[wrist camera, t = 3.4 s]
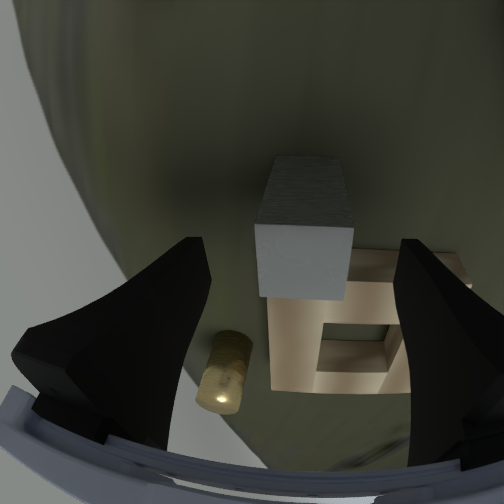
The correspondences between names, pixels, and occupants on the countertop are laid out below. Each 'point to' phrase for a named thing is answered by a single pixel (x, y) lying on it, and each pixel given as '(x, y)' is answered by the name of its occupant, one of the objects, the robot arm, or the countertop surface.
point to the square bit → (304, 230)
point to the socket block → (345, 352)
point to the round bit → (225, 373)
